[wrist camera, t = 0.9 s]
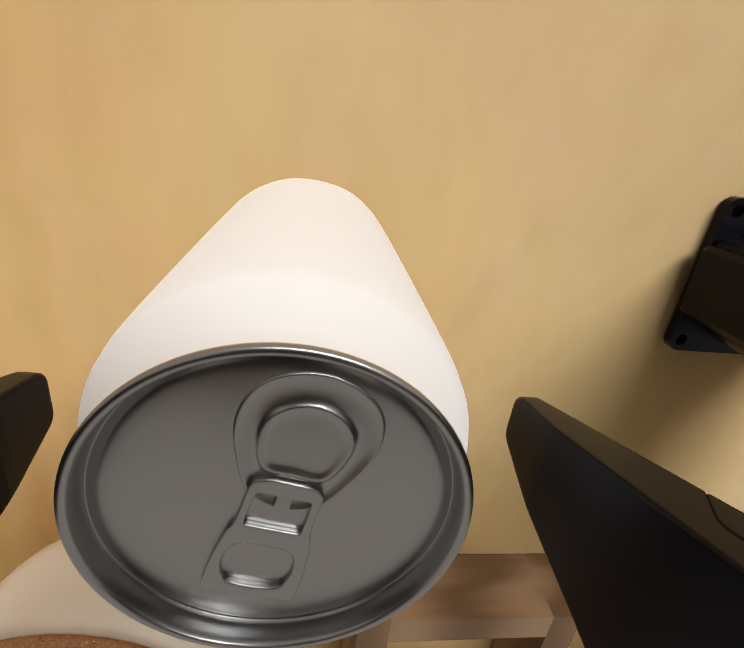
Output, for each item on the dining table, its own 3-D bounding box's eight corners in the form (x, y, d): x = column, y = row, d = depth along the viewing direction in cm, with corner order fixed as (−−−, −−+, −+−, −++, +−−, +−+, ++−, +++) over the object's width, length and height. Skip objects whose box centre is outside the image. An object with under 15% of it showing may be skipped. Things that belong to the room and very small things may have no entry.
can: (416, 213, 17) (592, 396, 6) (354, 360, 19) (400, 686, 8) (240, 146, 15) (40, 226, 4) (197, 314, 18) (-5, 642, 7)
